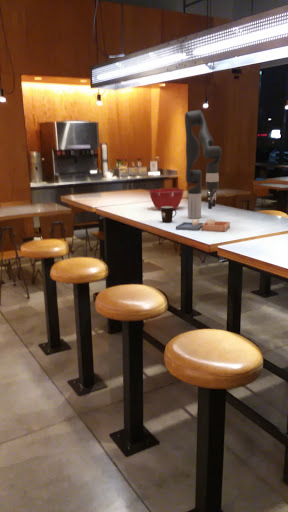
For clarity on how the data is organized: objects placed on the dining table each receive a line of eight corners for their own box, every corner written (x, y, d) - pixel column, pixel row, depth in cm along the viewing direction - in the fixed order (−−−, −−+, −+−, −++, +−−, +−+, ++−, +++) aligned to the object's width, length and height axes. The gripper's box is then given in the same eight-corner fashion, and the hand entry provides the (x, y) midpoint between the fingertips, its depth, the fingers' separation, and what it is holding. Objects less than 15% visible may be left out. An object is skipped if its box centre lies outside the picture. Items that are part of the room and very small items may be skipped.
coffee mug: (158, 221, 287) (158, 206, 285) (170, 220, 290) (170, 205, 288) (165, 224, 277) (165, 209, 274) (177, 223, 280) (177, 208, 277)
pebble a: (208, 226, 261) (208, 219, 260) (215, 227, 259) (215, 219, 258) (206, 228, 257) (206, 220, 256) (213, 228, 255) (213, 221, 254)
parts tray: (183, 224, 273) (183, 222, 273) (204, 225, 268) (204, 223, 267) (175, 229, 259) (175, 226, 259) (197, 230, 254) (197, 227, 253)
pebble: (193, 226, 265) (193, 219, 264) (199, 226, 263) (200, 219, 262) (191, 227, 261) (191, 220, 260) (197, 227, 259) (198, 220, 258)
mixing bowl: (143, 208, 347) (142, 189, 343) (173, 205, 359) (173, 187, 355) (158, 213, 322) (158, 192, 318) (190, 209, 334) (190, 190, 330)
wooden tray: (207, 226, 266) (207, 220, 265) (229, 227, 261) (229, 221, 260) (201, 230, 254) (201, 224, 253) (224, 231, 248) (224, 226, 248)
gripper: (209, 179, 259) (208, 205, 263) (203, 181, 246) (202, 209, 250) (221, 179, 256) (220, 206, 260) (215, 182, 243) (215, 209, 248)
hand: (211, 207), depth 255 cm, fingers open, 8 cm apart
